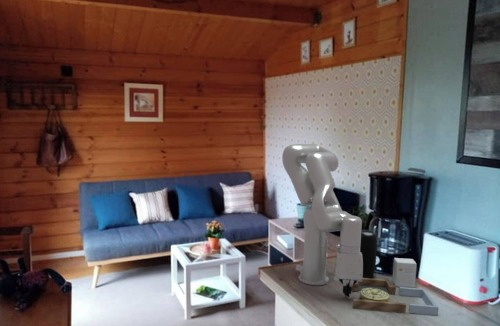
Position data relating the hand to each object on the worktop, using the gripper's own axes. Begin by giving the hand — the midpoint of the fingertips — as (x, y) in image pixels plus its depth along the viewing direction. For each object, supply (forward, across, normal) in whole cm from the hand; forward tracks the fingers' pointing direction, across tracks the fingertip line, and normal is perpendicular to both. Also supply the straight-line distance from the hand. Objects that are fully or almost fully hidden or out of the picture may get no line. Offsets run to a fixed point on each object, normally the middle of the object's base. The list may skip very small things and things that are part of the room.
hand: (346, 295), depth 158 cm
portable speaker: (+1, +11, +25) cm, 27 cm away
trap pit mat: (+1, +11, +11) cm, 16 cm away
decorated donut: (+2, +10, 0) cm, 11 cm away
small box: (+2, +26, +18) cm, 32 cm away
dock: (+2, +26, 0) cm, 26 cm away
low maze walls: (+1, +11, +3) cm, 11 cm away
